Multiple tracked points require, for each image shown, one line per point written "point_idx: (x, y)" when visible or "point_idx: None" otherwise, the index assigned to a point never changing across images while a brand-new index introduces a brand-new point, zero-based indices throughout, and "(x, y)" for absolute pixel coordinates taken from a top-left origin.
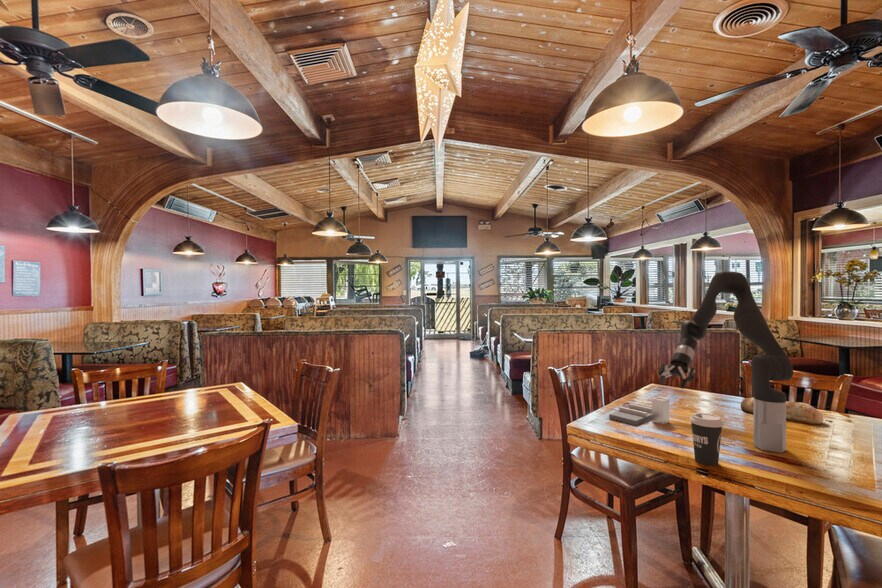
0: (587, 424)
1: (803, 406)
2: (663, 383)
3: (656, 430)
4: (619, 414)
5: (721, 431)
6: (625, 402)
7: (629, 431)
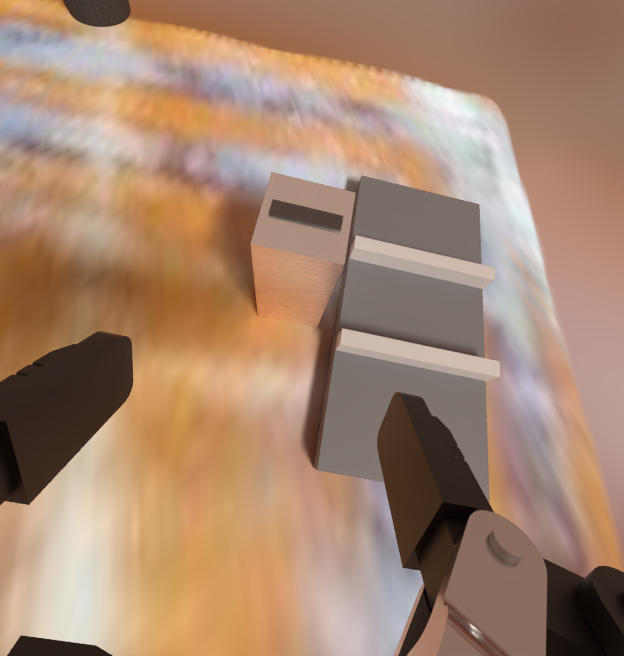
0: (477, 130)
1: None
2: (382, 458)
3: None
4: (449, 222)
5: None
6: None
7: (348, 127)
